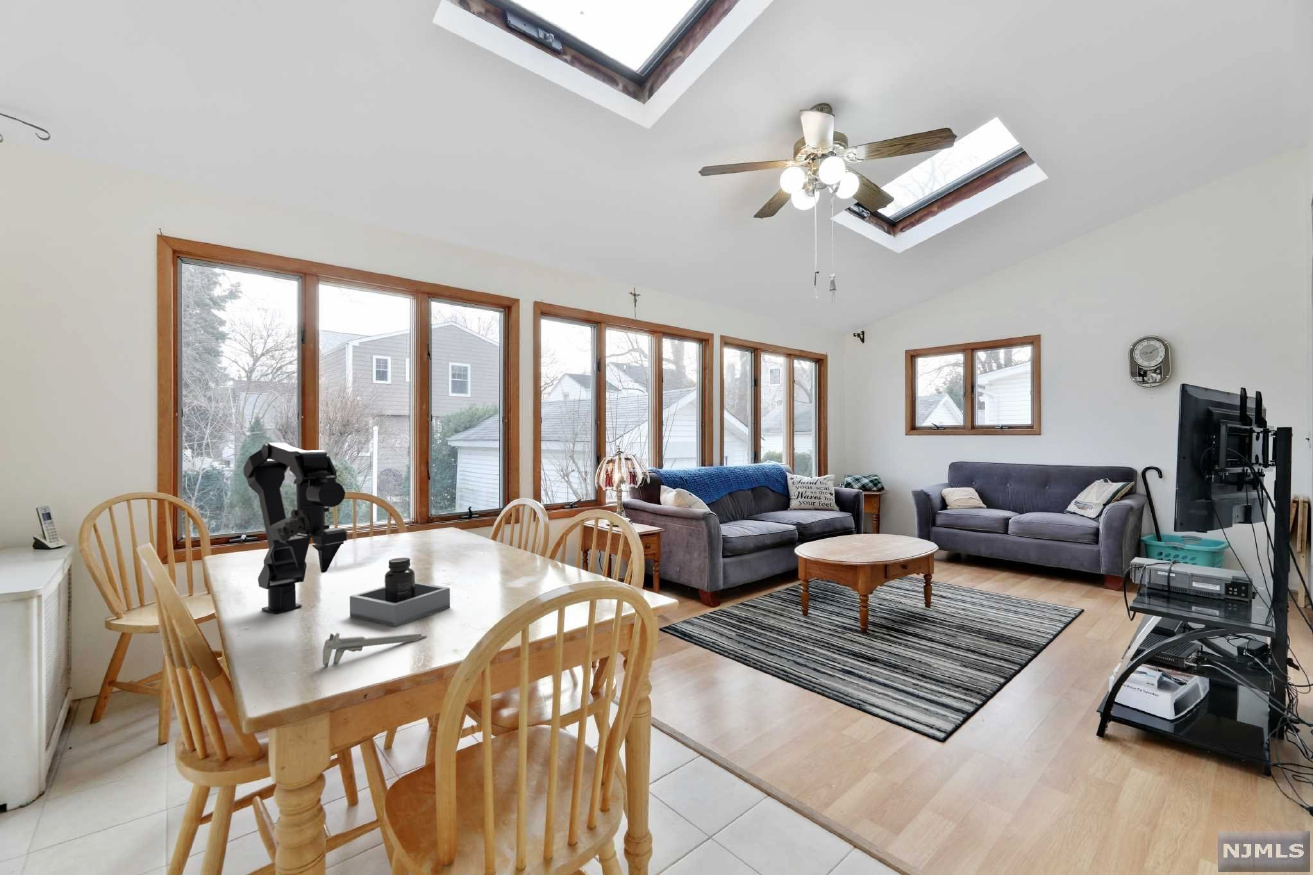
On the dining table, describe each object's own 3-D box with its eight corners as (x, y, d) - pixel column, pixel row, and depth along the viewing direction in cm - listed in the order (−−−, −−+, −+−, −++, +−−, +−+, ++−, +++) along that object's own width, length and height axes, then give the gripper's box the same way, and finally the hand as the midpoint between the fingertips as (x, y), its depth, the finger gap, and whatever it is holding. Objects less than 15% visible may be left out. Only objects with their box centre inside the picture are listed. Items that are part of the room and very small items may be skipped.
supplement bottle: (418, 602, 144) (418, 555, 144) (411, 611, 138) (410, 562, 137) (390, 604, 143) (389, 556, 143) (381, 613, 137) (380, 563, 136)
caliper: (325, 669, 108) (324, 636, 108) (322, 667, 108) (322, 635, 108) (427, 638, 124) (426, 609, 123) (424, 637, 124) (424, 608, 124)
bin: (350, 616, 137) (349, 596, 137) (406, 599, 151) (406, 580, 151) (394, 627, 130) (394, 605, 130) (450, 607, 144) (449, 587, 144)
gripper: (251, 505, 131) (252, 573, 131) (299, 510, 122) (300, 583, 122) (300, 500, 141) (301, 563, 141) (348, 504, 132) (349, 571, 132)
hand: (311, 570), depth 134 cm, fingers open, 9 cm apart
